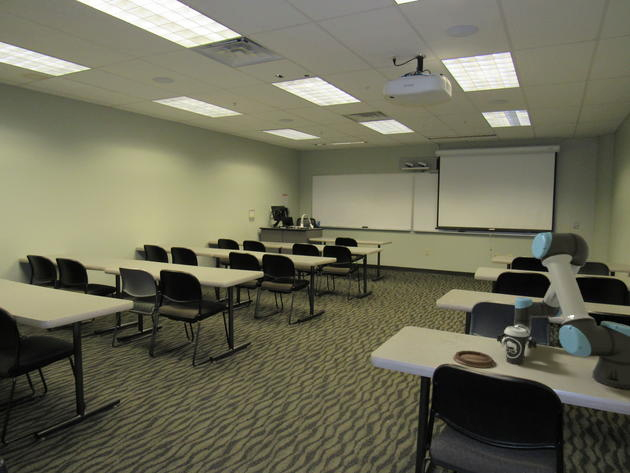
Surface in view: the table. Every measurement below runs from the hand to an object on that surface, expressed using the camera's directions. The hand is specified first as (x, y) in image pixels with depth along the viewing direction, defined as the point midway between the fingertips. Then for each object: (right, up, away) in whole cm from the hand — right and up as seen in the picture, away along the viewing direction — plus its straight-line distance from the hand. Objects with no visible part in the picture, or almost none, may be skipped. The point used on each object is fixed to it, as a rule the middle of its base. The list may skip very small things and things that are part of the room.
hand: (514, 346), depth 174 cm
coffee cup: (+2, -9, +4) cm, 10 cm away
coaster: (-16, -8, +5) cm, 18 cm away
